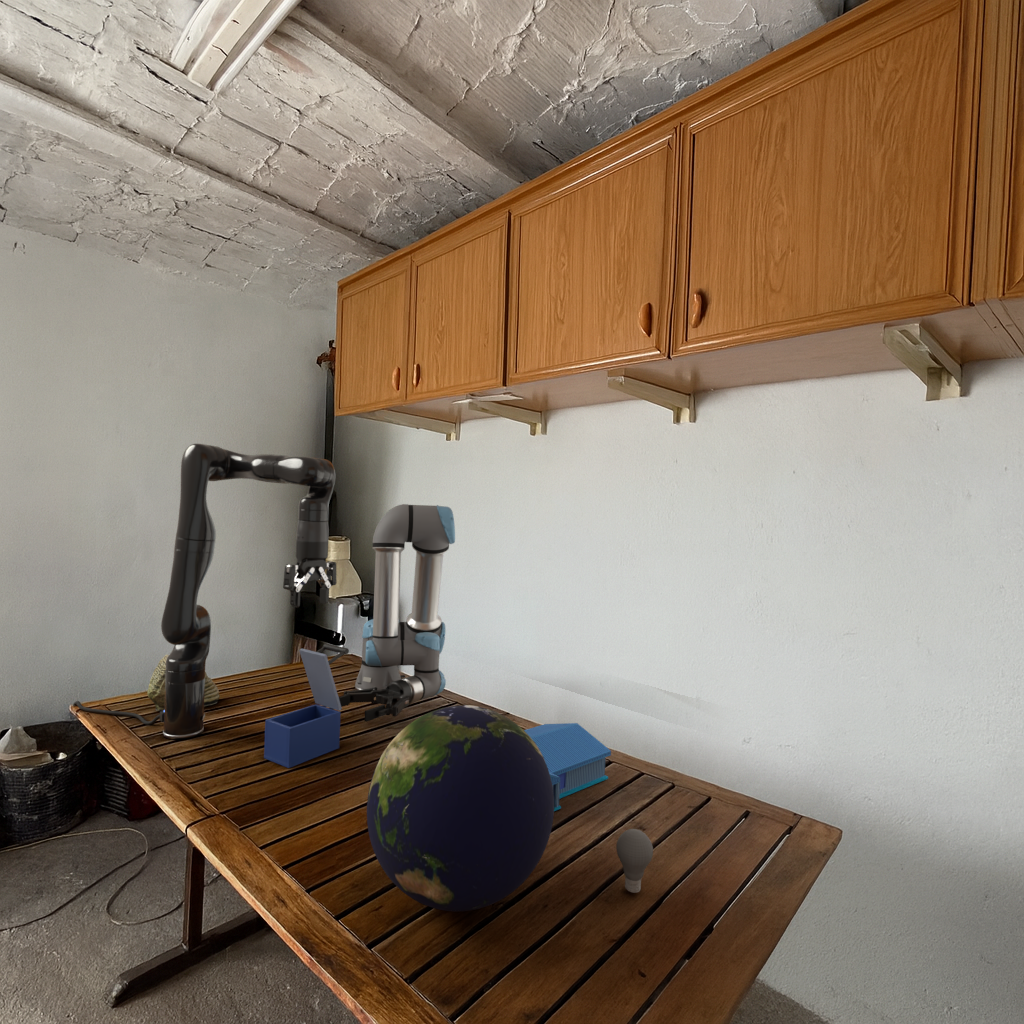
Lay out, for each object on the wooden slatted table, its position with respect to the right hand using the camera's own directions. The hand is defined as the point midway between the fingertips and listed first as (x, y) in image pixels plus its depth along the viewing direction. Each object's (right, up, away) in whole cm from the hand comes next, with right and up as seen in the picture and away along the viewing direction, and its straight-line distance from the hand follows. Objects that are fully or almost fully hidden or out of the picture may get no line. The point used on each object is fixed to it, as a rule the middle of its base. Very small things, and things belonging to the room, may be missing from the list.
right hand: (347, 710), depth 167 cm
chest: (-8, -7, -12) cm, 16 cm away
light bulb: (+64, -11, -62) cm, 89 cm away
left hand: (-6, +30, -12) cm, 32 cm away
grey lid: (-5, +10, -8) cm, 14 cm away
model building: (+46, -9, -25) cm, 53 cm away
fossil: (-53, -4, +18) cm, 56 cm away
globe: (+35, -10, -65) cm, 74 cm away
